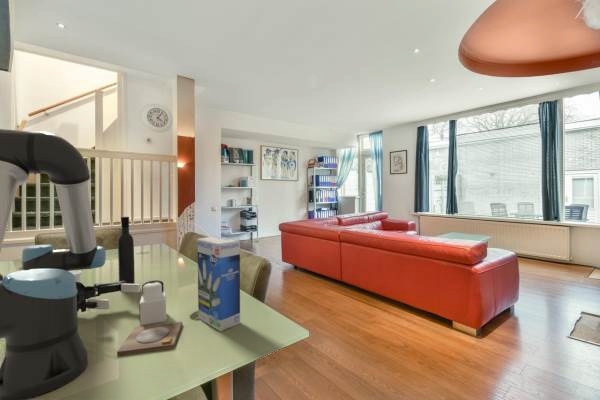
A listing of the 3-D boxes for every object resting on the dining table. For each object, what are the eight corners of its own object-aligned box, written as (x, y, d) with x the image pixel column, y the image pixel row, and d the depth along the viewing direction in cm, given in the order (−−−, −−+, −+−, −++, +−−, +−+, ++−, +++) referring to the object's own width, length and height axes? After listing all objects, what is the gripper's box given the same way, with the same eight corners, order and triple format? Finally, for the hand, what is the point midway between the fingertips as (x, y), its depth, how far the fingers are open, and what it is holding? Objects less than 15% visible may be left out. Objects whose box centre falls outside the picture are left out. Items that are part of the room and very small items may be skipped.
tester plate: (173, 348, 72) (173, 342, 72) (117, 355, 69) (116, 349, 69) (182, 324, 85) (181, 320, 85) (134, 330, 81) (134, 325, 81)
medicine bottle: (142, 316, 90) (141, 280, 90) (166, 312, 93) (165, 277, 93) (139, 326, 84) (138, 287, 84) (165, 321, 87) (165, 283, 87)
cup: (60, 297, 108) (59, 276, 108) (58, 290, 115) (57, 271, 115) (83, 292, 113) (82, 272, 113) (79, 286, 120) (79, 268, 120)
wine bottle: (134, 282, 125) (132, 216, 124) (135, 286, 120) (133, 217, 119) (119, 285, 121) (117, 217, 120) (119, 288, 117) (117, 217, 116)
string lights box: (197, 318, 89) (196, 238, 88) (218, 310, 95) (217, 235, 94) (220, 332, 80) (219, 243, 79) (242, 322, 86) (241, 240, 85)
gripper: (97, 290, 104) (150, 292, 102) (24, 322, 79) (92, 326, 77) (96, 271, 104) (149, 272, 102) (23, 296, 79) (91, 299, 77)
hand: (125, 295), depth 89 cm, fingers open, 13 cm apart
